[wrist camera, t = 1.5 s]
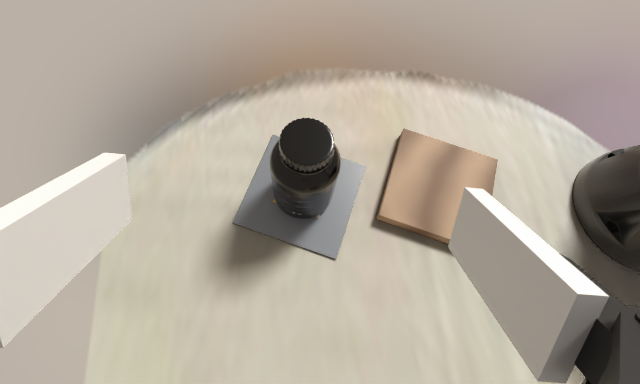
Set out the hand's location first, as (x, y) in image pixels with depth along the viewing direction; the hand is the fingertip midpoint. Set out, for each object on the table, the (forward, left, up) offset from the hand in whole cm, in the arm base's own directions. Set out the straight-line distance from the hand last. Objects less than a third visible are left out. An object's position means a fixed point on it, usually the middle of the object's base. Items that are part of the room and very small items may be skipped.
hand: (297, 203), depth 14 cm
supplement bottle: (+2, -11, -26) cm, 28 cm away
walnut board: (-13, -17, -26) cm, 33 cm away
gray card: (+2, -11, -26) cm, 28 cm away
